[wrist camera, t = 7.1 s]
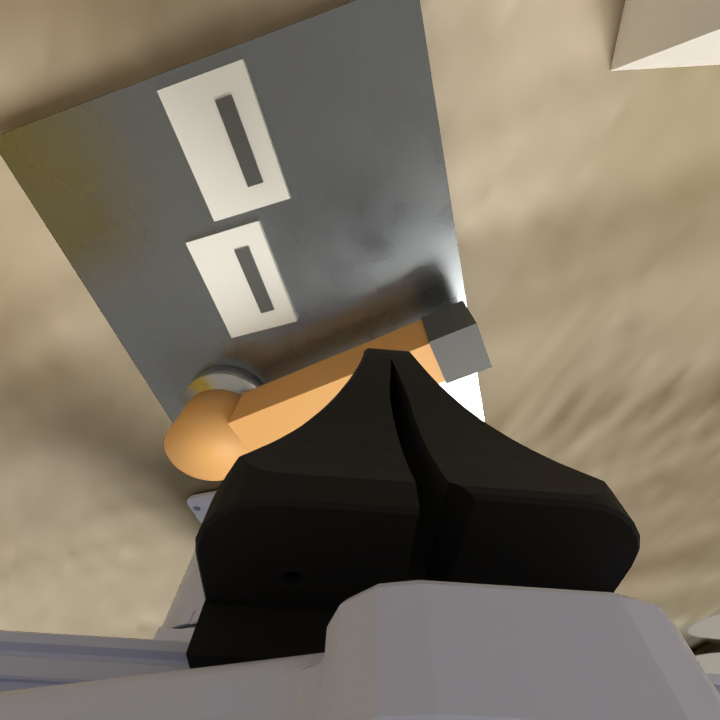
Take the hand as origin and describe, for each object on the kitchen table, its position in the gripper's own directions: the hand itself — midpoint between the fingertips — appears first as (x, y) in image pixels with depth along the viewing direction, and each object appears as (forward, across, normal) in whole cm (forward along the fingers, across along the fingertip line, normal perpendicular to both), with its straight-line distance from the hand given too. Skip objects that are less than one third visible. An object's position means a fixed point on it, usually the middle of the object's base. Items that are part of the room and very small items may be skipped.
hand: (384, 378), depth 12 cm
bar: (+7, +3, +5) cm, 9 cm away
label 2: (+9, +6, 0) cm, 11 cm away
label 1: (+9, +7, -6) cm, 13 cm away
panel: (+9, +5, +1) cm, 11 cm away
